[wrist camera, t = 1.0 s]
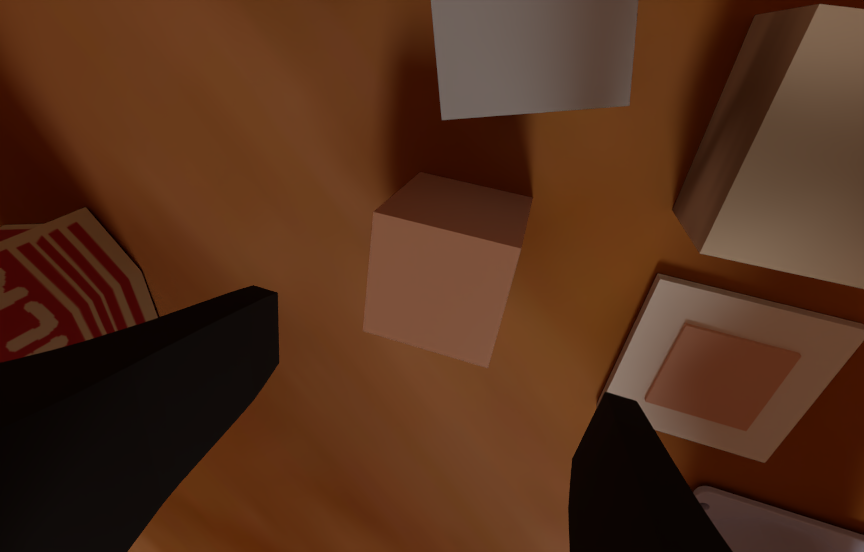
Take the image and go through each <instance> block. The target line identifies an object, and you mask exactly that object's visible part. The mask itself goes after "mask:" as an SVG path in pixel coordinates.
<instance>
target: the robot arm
mask: <svg viewBox="0 0 864 552" xmlns="http://www.w3.org/2000/svg"><path fill="white" fill-rule="evenodd" d="M278 364H279V332H278V293H277V292H274V291H270V290H267V289H264V288H260V287H257V286H254V285H253V286H250V287H246V288H243V289H239V290H236V291H233V292H230V293H227V294H224V295H221V296H218V297H216V298H213V299H210V300H207V301H204V302H201V303H199V304H196V305H193V306H190V307H187V308H184V309H182V310H179V311H176V312H173V313H170V314H167V315H164V316H161V317H159V318H156V319H153V320H150V321H147V322H144V323H141V324H137V325H134V326H131V327H128V328H125V329H122V330H118V331H115V332H112V333H109V334H106V335H103V336H99V337H96V338H93V339H90V340H86V341H83V342H79V343H76V344H72V345H69V346H65V347H61V348H58V349H54V350H50V351H46V352H42V353H38V354H34V355H30V356H26V357H22V358H18V359H14V360H9V361H5V362H1V363H0V552H127V551H128V550H129V549H130V547H131V546H132V545H133V543H134V542H135V541H136V539H137V538H138V537H139V535H140V534H141V533H142V531H143V530H144V528H145V527H146V526H147V524H148V523H149V522H150V520H151V519H152V518H153V516H154V515H155V514H156V512H157V511H158V510H159V508H160V507H161V506H162V504H163V503H164V502H165V501H166V499H167V498H168V497H169V496H170V495H171V493H172V492H173V491H174V490H175V489H176V487H177V486H178V485H179V484H180V483H181V481H182V480H183V479H184V478H185V477H186V476H187V475H188V474H189V472H190V471H191V470H192V469H193V468H194V467H195V466H196V465H197V464H198V462H199V461H200V460H201V459H202V458H203V457H204V456H205V455H206V453H207V452H208V451H209V450H210V449H211V448H212V447H213V446H214V445H215V443H216V442H217V441H218V440H219V439H220V438H221V437H222V436H223V434H224V433H225V432H226V431H227V430H228V429H229V428H230V427H231V425H232V424H233V423H234V422H235V421H236V420H237V419H238V418H239V416H240V415H241V414H242V413H243V412H244V411H245V410H246V408H247V407H248V406H249V405H250V404H251V403H252V401H253V400H254V399H255V398H256V396H257V395H258V393H259V392H260V390H261V389H262V388H263V386H264V385H265V383H266V382H267V380H268V379H269V377H270V376H271V374H272V373H273V371H274V370H275V368H276V367H277V365H278ZM568 513H569V541H570V552H864V535H862V534H859V533H855V532H852V531H849V530H846V529H843V528H840V527H836V526H833V525H830V524H827V523H824V522H821V521H817V520H814V519H811V518H808V517H805V516H802V515H799V514H795V513H792V512H789V511H786V510H783V509H780V508H776V507H773V506H770V505H767V504H764V503H761V502H757V501H754V500H751V499H748V498H745V497H742V496H738V495H735V494H732V493H729V492H726V491H723V490H720V489H716V488H713V487H710V486H700V487H698V488H696V489H695V490H694V492H692V490H691V489H690V487H689V486H688V484H687V483H686V481H685V479H684V478H683V476H682V475H681V473H680V471H679V470H678V468H677V467H676V465H675V463H674V462H673V460H672V458H671V457H670V455H669V453H668V452H667V450H666V448H665V447H664V445H663V444H662V442H661V440H660V439H659V437H658V435H657V433H656V432H655V430H654V428H653V427H652V425H651V423H650V422H649V420H648V418H647V417H646V415H645V413H644V412H643V410H642V408H641V407H640V405H639V404H638V402H637V401H635V400H632V399H629V398H625V397H622V396H619V395H615V394H612V393H609V392H605V393H604V395H603V397H602V399H601V401H600V403H599V405H598V407H597V409H596V411H595V413H594V415H593V417H592V419H591V421H590V423H589V425H588V428H587V430H586V432H585V434H584V436H583V438H582V440H581V442H580V444H579V446H578V448H577V450H576V452H575V454H574V456H573V458H572V468H571V479H570V492H569V507H568Z"/></svg>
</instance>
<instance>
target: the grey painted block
mask: <svg viewBox="0 0 864 552" xmlns="http://www.w3.org/2000/svg"><path fill="white" fill-rule="evenodd" d="M431 7H432V18H433V29H434V40H435V51H436V62H437V73H438V84H439V95H440V106H441V117H442V120H451V119H464V118H477V117H489V116H502V115H515V114H528V113H541V112H554V111H567V110H580V109H593V108H606V107H619V106H629V102H630V91H631V79H632V67H633V56H634V44H635V32H636V21H637V9H638V0H431Z"/></svg>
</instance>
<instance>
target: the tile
mask: <svg viewBox="0 0 864 552" xmlns="http://www.w3.org/2000/svg"><path fill="white" fill-rule="evenodd" d="M863 341H864V325H863V324H862V323H858V322H854V321H849V320H845V319H841V318H837V317H833V316H829V315H825V314H821V313H817V312H813V311H809V310H805V309H801V308H797V307H793V306H789V305H785V304H781V303H777V302H772V301H768V300H764V299H760V298H756V297H752V296H748V295H744V294H740V293H736V292H732V291H728V290H724V289H720V288H716V287H712V286H708V285H704V284H700V283H695V282H691V281H687V280H683V279H679V278H675V277H671V276H667V275H663V274H659V273H658V274H657V276H656V278H655V280H654V282H653V284H652V286H651V289H650V291H649V293H648V295H647V297H646V299H645V301H644V304H643V306H642V308H641V310H640V312H639V314H638V316H637V319H636V321H635V323H634V325H633V327H632V329H631V331H630V334H629V336H628V338H627V340H626V342H625V344H624V346H623V349H622V351H621V353H620V355H619V357H618V359H617V361H616V364H615V366H614V368H613V370H612V372H611V374H610V376H609V379H608V381H607V383H606V385H605V387H604V389H603V392H602V394H601V396H600V398H599V400H598V402H597V404H596V406H597V407H598V405H599V403H600V401H601V399H602V397H603V395H604V393H605V392H609V393H612V394H615V395H619V396H622V397H625V398H629V399H632V400H635V401H637V402H638V404H639V405H640V407H641V408H642V410H643V412H644V413H645V415H646V417H647V418H648V420H649V422H650V423H651V425H652V427H653V428H654V430H657V431H660V432H664V433H667V434H670V435H674V436H677V437H680V438H683V439H687V440H690V441H693V442H697V443H700V444H703V445H707V446H710V447H713V448H717V449H720V450H723V451H726V452H730V453H733V454H736V455H740V456H743V457H746V458H750V459H753V460H756V461H759V462H763V463H765V462H766V461H767V460H768V459H769V457H770V456H771V455H772V454H773V452H774V451H775V450H776V449H777V447H778V446H779V445H780V444H781V442H782V441H783V440H784V439H785V438H786V436H787V435H788V434H789V433H790V431H791V430H792V429H793V428H794V426H795V425H796V424H797V423H798V421H799V420H800V419H801V418H802V416H803V415H804V414H805V413H806V412H807V410H808V409H809V408H810V407H811V405H812V404H813V403H814V402H815V400H816V399H817V398H818V397H819V395H820V394H821V393H822V392H823V390H824V389H825V388H826V387H827V385H828V384H829V383H830V382H831V381H832V379H833V378H834V377H835V376H836V374H837V373H838V372H839V371H840V369H841V368H842V367H843V366H844V364H845V363H846V362H847V361H848V359H849V358H850V357H851V356H852V355H853V353H854V352H855V351H856V350H857V348H858V347H859V346H860V345H861V343H862V342H863Z"/></svg>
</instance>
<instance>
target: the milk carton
mask: <svg viewBox="0 0 864 552" xmlns="http://www.w3.org/2000/svg"><path fill="white" fill-rule="evenodd" d="M156 318H158V316H157V314H156V311H155V308H154V305H153V302H152V300H151V297H150V294H149V291H148V289H147V286H146V283H145V280H144V277H143V275H142V272H141V271H140V269H139V268H138V267H137V266H136V265H135V264H134V262H133V261H132V260H131V259H130V258H129V257H128V255H127V254H126V253H125V252H124V251H123V250H122V249H121V247H120V246H119V245H118V244H117V243H116V242H115V240H114V239H113V238H112V237H111V236H110V235H109V233H108V232H107V231H106V230H105V229H104V228H103V227H102V225H101V224H100V223H99V222H98V221H97V220H96V218H95V217H94V216H93V215H92V214H91V213H90V211H89V210H88V209H87V208H86V207H84V208H82V209H79V210H77V211H74V212H72V213H70V214H67V215H65V216H62V217H60V218H57V219H55V220H52V221H50V222H47V223H45V224H17V225H3V226H1V227H0V363H1V362H5V361H9V360H14V359H18V358H22V357H26V356H30V355H34V354H38V353H42V352H46V351H50V350H54V349H58V348H61V347H65V346H69V345H72V344H76V343H79V342H83V341H86V340H90V339H93V338H96V337H99V336H103V335H106V334H109V333H112V332H115V331H118V330H122V329H125V328H128V327H131V326H134V325H137V324H141V323H144V322H147V321H150V320H153V319H156Z"/></svg>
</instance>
